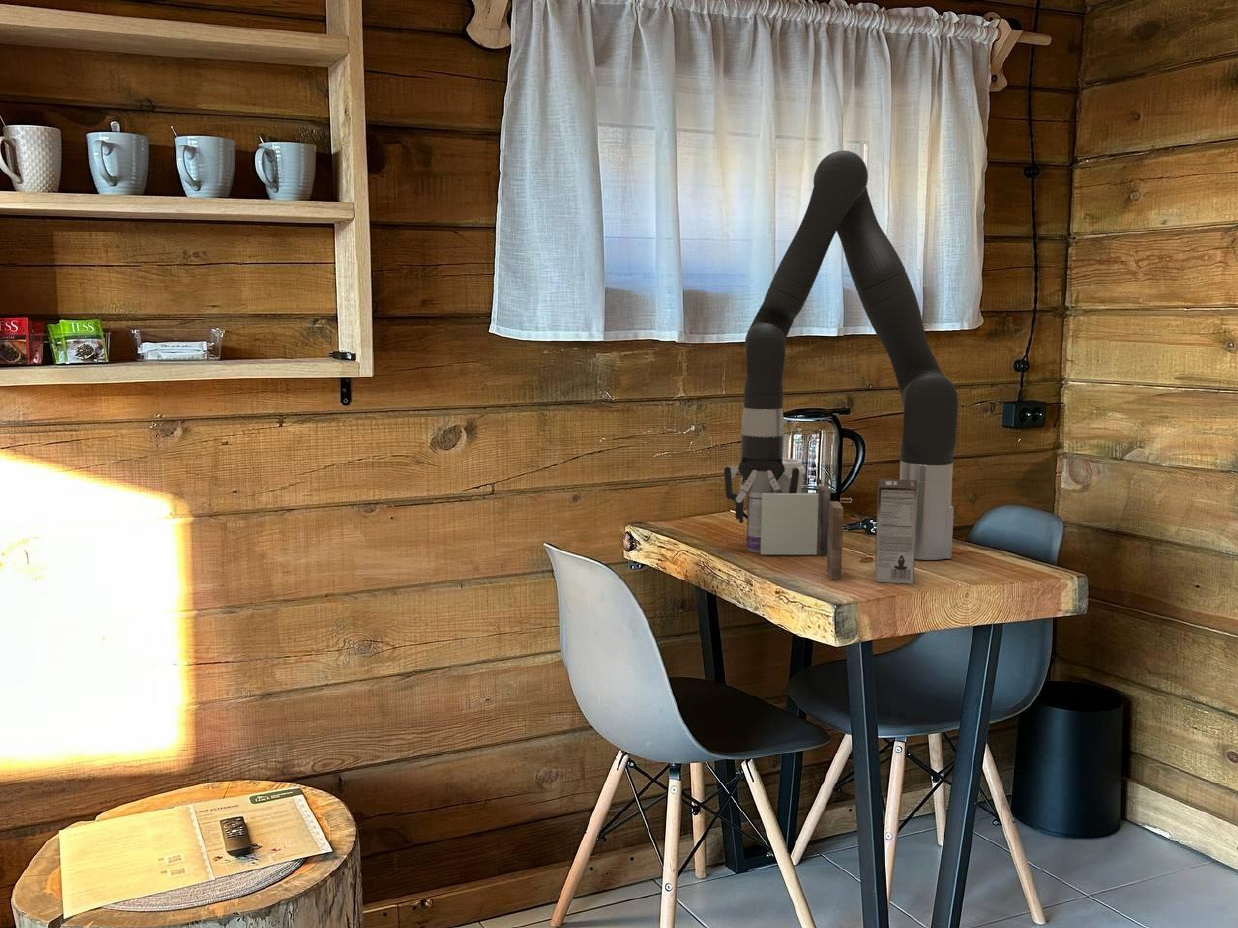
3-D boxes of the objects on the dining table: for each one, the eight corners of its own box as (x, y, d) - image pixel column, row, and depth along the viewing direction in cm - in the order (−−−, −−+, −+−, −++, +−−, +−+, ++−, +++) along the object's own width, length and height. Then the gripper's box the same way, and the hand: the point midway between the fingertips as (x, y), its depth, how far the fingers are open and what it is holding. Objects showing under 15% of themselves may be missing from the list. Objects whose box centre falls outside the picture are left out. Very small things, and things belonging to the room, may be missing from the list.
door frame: (825, 549, 222) (827, 486, 220) (840, 579, 198) (843, 508, 197) (816, 549, 222) (818, 485, 220) (831, 579, 198) (833, 508, 197)
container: (755, 546, 224) (757, 467, 222) (776, 549, 222) (779, 469, 220) (741, 550, 221) (743, 469, 219) (763, 553, 218) (765, 472, 216)
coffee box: (874, 570, 206) (878, 477, 204) (912, 572, 204) (916, 479, 202) (874, 582, 197) (878, 485, 195) (914, 584, 196) (919, 487, 193)
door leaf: (815, 553, 218) (817, 493, 216) (816, 554, 216) (818, 494, 215) (760, 553, 217) (762, 493, 216) (761, 554, 216) (763, 494, 214)
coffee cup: (803, 542, 229) (805, 464, 227) (753, 540, 230) (755, 463, 228) (803, 532, 238) (805, 458, 236) (755, 530, 240) (757, 456, 238)
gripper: (800, 431, 222) (797, 519, 224) (722, 429, 222) (720, 517, 225) (803, 435, 214) (800, 527, 216) (723, 434, 215) (721, 525, 217)
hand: (759, 522), depth 221 cm, fingers open, 6 cm apart
